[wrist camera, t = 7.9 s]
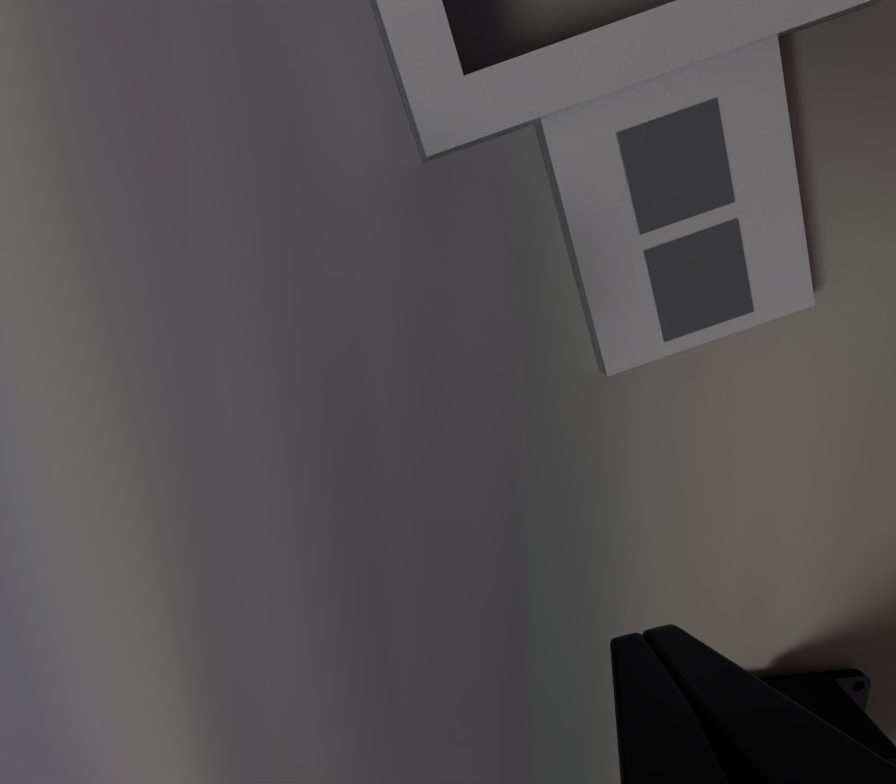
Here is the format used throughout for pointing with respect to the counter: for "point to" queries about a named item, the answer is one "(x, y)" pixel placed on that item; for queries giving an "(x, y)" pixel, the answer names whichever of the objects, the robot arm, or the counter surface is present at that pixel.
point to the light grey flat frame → (642, 158)
